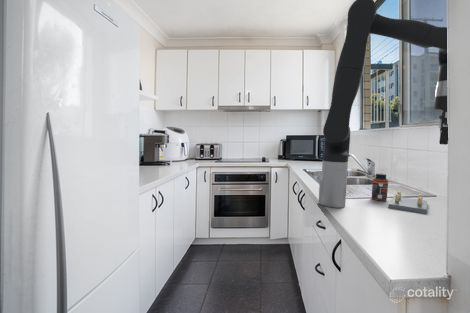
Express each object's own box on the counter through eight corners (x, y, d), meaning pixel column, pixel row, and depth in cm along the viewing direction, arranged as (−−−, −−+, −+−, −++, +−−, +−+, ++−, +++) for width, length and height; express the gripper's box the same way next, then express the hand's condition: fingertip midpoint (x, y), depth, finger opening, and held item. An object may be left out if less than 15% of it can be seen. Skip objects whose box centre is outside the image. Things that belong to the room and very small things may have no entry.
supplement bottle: (383, 202, 114) (385, 175, 113) (369, 199, 118) (370, 173, 118) (389, 200, 118) (391, 174, 117) (374, 197, 122) (376, 172, 121)
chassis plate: (388, 207, 105) (389, 196, 104) (393, 199, 119) (394, 189, 119) (426, 213, 98) (427, 201, 97) (426, 204, 112) (427, 193, 112)
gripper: (435, 98, 99) (430, 143, 100) (434, 93, 87) (429, 143, 89) (462, 98, 94) (456, 145, 96) (465, 92, 83) (458, 145, 84)
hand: (443, 144), depth 92 cm, fingers open, 8 cm apart
